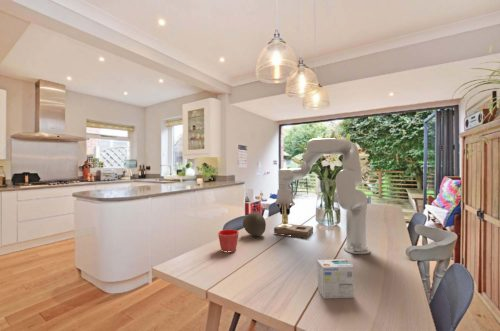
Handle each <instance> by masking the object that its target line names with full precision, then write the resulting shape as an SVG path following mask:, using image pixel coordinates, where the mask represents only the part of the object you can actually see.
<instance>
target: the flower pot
mask: <svg viewBox="0 0 500 331" xmlns="http://www.w3.org/2000/svg"><path fill="white" fill-rule="evenodd" d="M217 235H218V239H219V240H218V241H219V245H220V250H223V251H227V252H228V251H234V250H235V251H237V247H238V246H237V245H238V240H239V230H236V229H222V230H219V231H218V233H217ZM235 251H234V252H235Z"/></svg>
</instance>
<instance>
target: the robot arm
mask: <svg viewBox="0 0 500 331" xmlns="http://www.w3.org/2000/svg"><path fill="white" fill-rule="evenodd" d="M305 149H306V151H305V152H304V153H303V154H302V155H301V156H302V157H301V158H302V161H303V162H302V164H301V165H300V166H298V167H295V168H293V167H292V168H279V169H278V188H277V194H276V200H275V202H274V204H275V205H276V206H277V207H278V209H279V214H280V215H282V204H287V215H288V216H290V214H291V208H292V207H293V206H295V202H294V199H293V198H294V197H293V191H292V188H293V185H291V181H296V180H302V179H303V178H305V177H306V176H307V175H308V174H309V173H310V172H311V170H312V168H313V165H314V164H315V163H317V161H318V160H319V159H320V158H321V157H322V156H324V155H342V169H341V170H339V171H338V172H337V174H336V176H335V186H336V196H337V201H338V204H339V206H340V207H341V208H342V209H343V210H345V212H346V214H345V219H346V224H345V225H346V226H345V227H346V228H345V229H346V244H344V245H343V250H344V251H345V252H348V253H350V254H356V255H366V254H367V255H368V254H370V253H371V249H370V247H368V246H367V243H368V242H367V208H368V197H367V196H368V195H367V194H366V193H365V192H364V191H363V190H361V189H358V188H357V187H359V186H360V185H361V184H362V183H363V174H362V166H361V161H360V160H361V159H360V153H359V149H358V146H357V145H356V143H354V142H352V141H351V140H348V139H344V138H343V139H342V138H334V137H328V138H327V137H325V138H312V139H310V140H308V141H307V143H306V148H305ZM356 188H357V189H356Z"/></svg>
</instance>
